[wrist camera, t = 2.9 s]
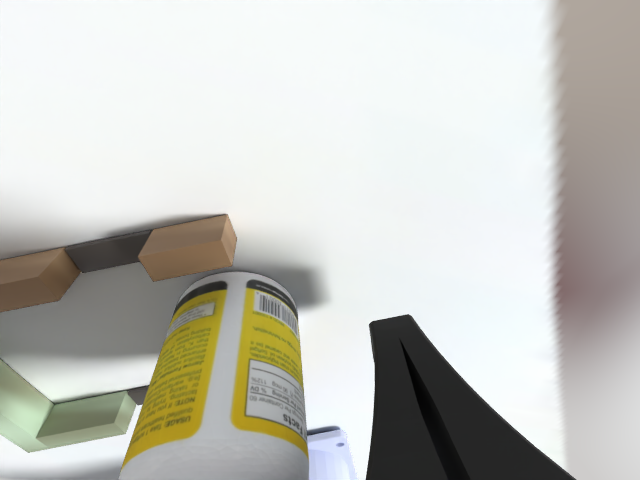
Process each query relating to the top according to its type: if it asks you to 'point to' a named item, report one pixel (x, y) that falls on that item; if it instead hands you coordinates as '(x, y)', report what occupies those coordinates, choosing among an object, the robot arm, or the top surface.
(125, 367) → the top surface
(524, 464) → the robot arm
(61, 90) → the top surface
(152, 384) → the supplement bottle
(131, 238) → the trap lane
